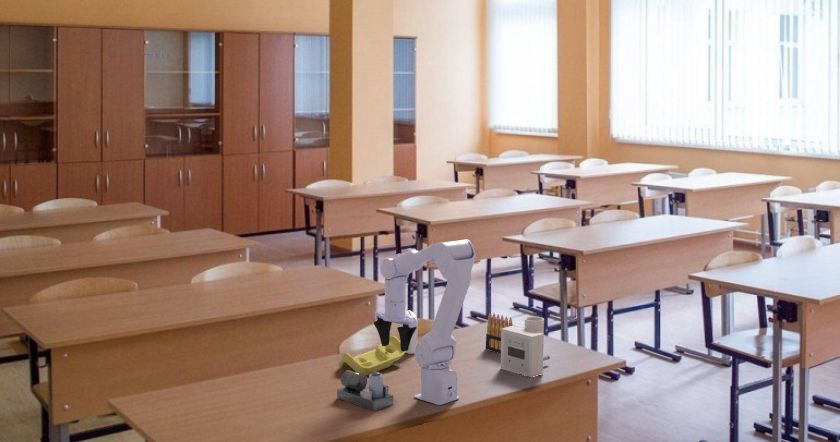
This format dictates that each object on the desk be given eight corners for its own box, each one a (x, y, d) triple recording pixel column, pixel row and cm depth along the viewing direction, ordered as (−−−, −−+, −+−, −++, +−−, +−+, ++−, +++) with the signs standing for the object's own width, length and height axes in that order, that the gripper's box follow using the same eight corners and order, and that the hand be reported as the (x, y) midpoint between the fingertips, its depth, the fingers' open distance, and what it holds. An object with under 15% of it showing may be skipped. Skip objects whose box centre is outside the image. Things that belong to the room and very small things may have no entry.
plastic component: (364, 370, 281) (342, 349, 286) (358, 389, 285) (336, 368, 290) (412, 351, 295) (390, 331, 300) (405, 370, 299) (384, 350, 304)
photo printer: (398, 345, 315) (398, 307, 313) (411, 345, 316) (412, 307, 314) (405, 354, 305) (405, 315, 303) (418, 353, 306) (419, 314, 304)
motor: (393, 404, 258) (393, 378, 257) (373, 410, 253) (373, 384, 252) (354, 391, 269) (354, 367, 268) (334, 397, 264) (334, 372, 263)
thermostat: (500, 368, 291) (501, 319, 289) (532, 360, 300) (533, 311, 298) (531, 378, 282) (532, 326, 280) (563, 369, 291) (565, 319, 289)
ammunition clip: (485, 349, 312) (485, 312, 310) (489, 348, 313) (490, 311, 311) (510, 356, 304) (510, 318, 302) (514, 355, 305) (515, 317, 303)
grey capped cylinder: (385, 395, 258) (385, 372, 257) (377, 398, 255) (377, 375, 254) (374, 392, 260) (374, 369, 259) (366, 395, 257) (366, 373, 256)
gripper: (366, 298, 276) (366, 345, 278) (403, 306, 266) (403, 356, 268) (384, 294, 281) (384, 341, 283) (421, 302, 271) (421, 351, 273)
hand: (394, 348), depth 276 cm, fingers open, 7 cm apart
